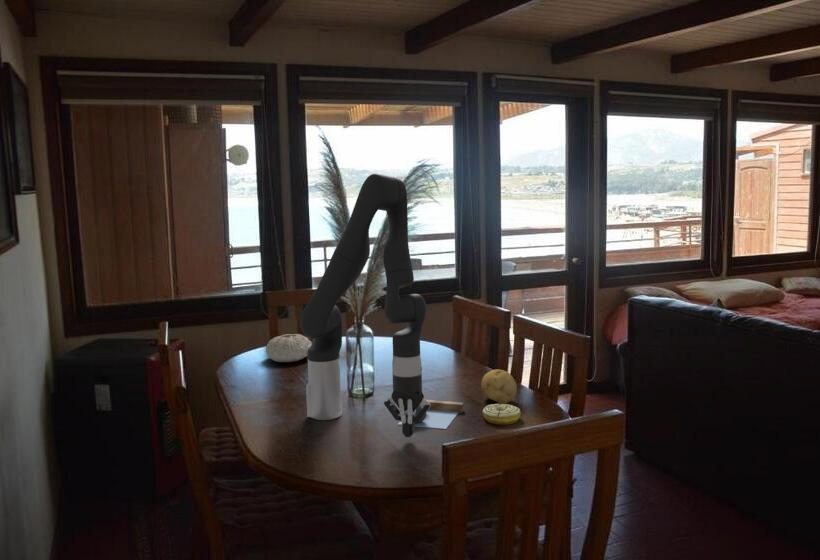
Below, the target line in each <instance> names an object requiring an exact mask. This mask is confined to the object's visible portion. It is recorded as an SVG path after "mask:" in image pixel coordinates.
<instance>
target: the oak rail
mask: <svg viewBox="0 0 820 560" xmlns="http://www.w3.org/2000/svg"><path fill="white" fill-rule="evenodd" d="M426 401H427V402H431V403H432V406H431V407H430V408H429V410H440V411H451V412H459V413H458V414H463V412H464V410H465V407H464V406H465V405H464V402H459V401H448V400H435V399H426Z"/></svg>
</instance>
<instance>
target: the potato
mask: <svg viewBox="0 0 820 560" xmlns="http://www.w3.org/2000/svg"><path fill="white" fill-rule="evenodd" d="M480 386H481V392H482V394H483V396H484V397H486V398H487V399H489V400H491V401H495V402H496V403H497V404H509V403H510V402H511V401H513V400H514V399H515V397H516V395H517V391H518V385H517V382H516V380H515V378H514V377H513V376H512V374H510V373H509V372H508V371H505V370H503V369H492V370H489V371H488V372H486V373H485V374H484V375H483V378H482V379H481V385H480Z"/></svg>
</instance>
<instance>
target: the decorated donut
mask: <svg viewBox="0 0 820 560" xmlns="http://www.w3.org/2000/svg"><path fill="white" fill-rule="evenodd" d="M521 414H522V413H521V409H520V408H519V407H517V406H514V405H513V404H509V403H505V404H501V403H493V404H492V403H491V404H488V405H486V406H485V407H484V408H483V409H482V415H483V418H484V419H485V420H486V422H488V423H490V424H492V425H501V426H502V425H503V426H504V425H511V424H515V423H516V422H518V421H519V419H520V417H521Z"/></svg>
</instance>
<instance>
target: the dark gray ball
mask: <svg viewBox="0 0 820 560" xmlns="http://www.w3.org/2000/svg"><path fill="white" fill-rule="evenodd" d="M421 410H422V408H421V404H420V405H419V406H418V407H417V408H416V412H415V416H417V415H418V414H419V412H420V411H421ZM425 417H426V413H425V414H424V415H423V417H422V418H421V419H420V420H419V421H418V422H414V423H421V422H422V421H423V420H424V419H425Z"/></svg>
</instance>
